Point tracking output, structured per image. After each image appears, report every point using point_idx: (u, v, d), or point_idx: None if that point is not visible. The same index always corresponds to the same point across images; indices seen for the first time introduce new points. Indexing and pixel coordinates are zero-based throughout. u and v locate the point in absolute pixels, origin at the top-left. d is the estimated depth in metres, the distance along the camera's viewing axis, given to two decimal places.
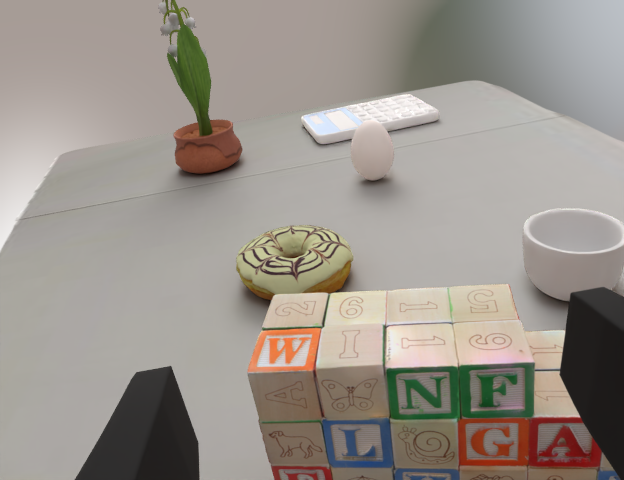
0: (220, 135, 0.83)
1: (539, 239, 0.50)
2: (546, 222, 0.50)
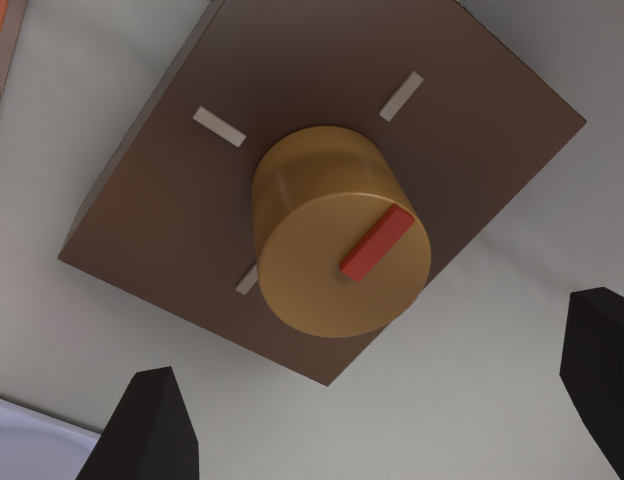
0: None
1: None
2: None
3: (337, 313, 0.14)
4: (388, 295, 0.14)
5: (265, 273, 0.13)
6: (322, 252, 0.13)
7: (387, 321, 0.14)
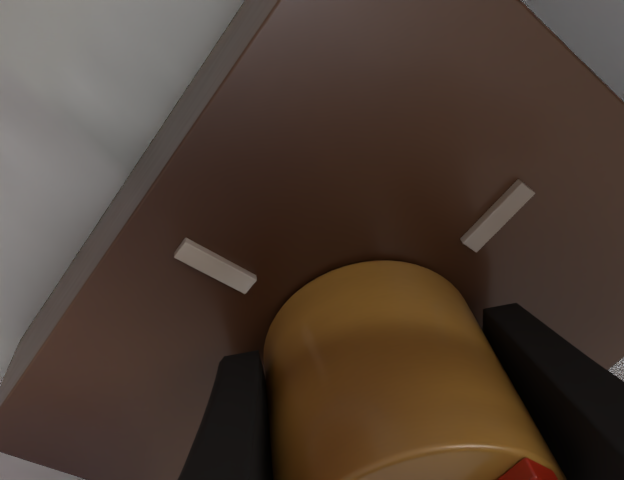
0: None
1: None
2: None
3: None
4: None
5: None
6: None
7: None
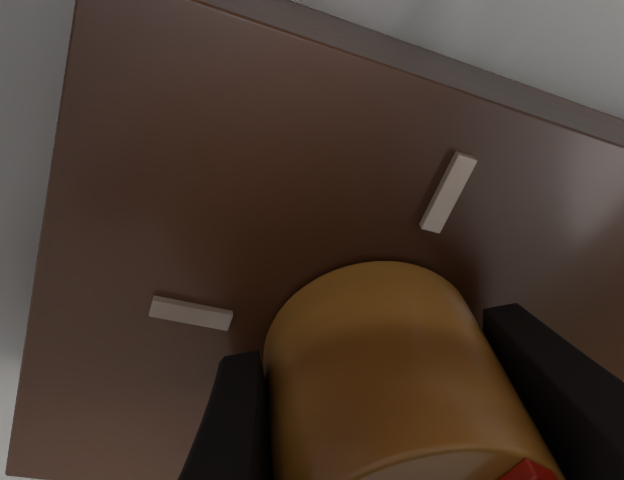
0: None
1: None
2: None
3: None
4: None
5: None
6: None
7: None
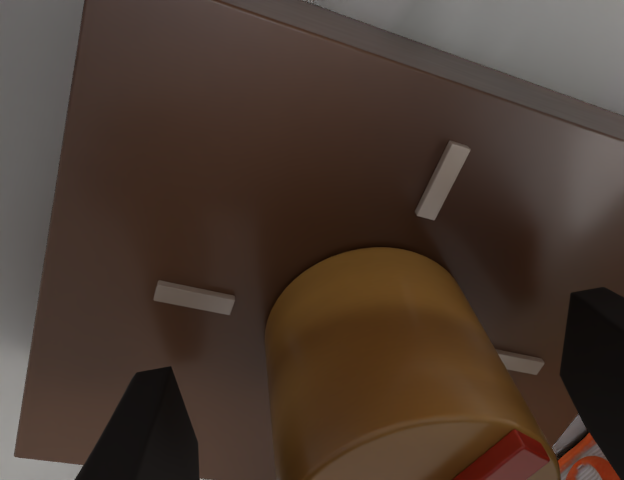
0: None
1: None
2: None
3: None
4: None
5: None
6: None
7: None
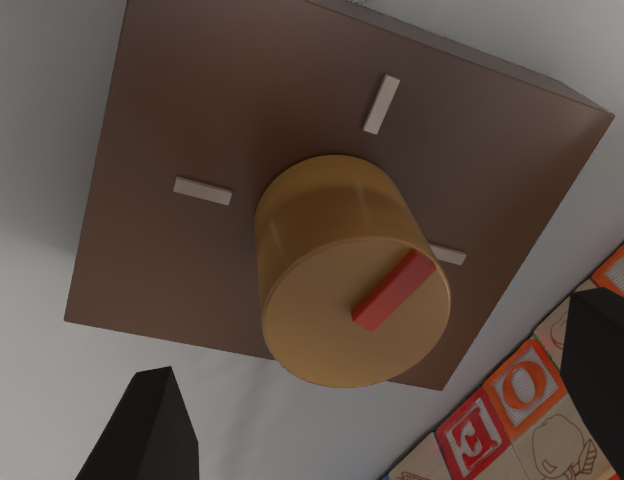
0: None
1: None
2: None
3: (347, 362, 0.13)
4: (403, 344, 0.13)
5: (270, 321, 0.12)
6: (333, 299, 0.12)
7: (401, 371, 0.13)
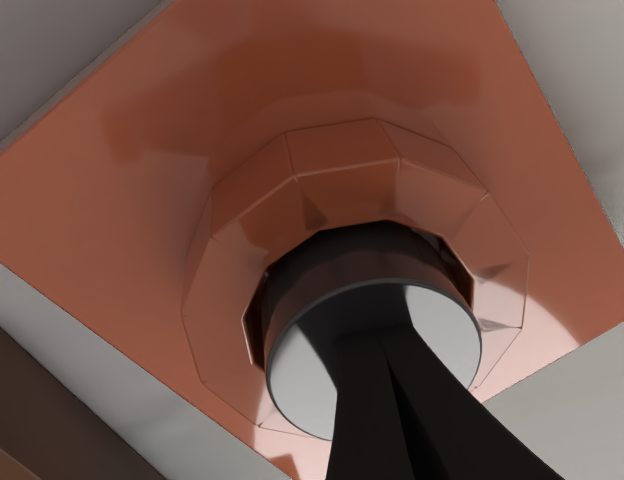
0: None
1: None
2: None
3: None
4: None
5: None
6: None
7: None
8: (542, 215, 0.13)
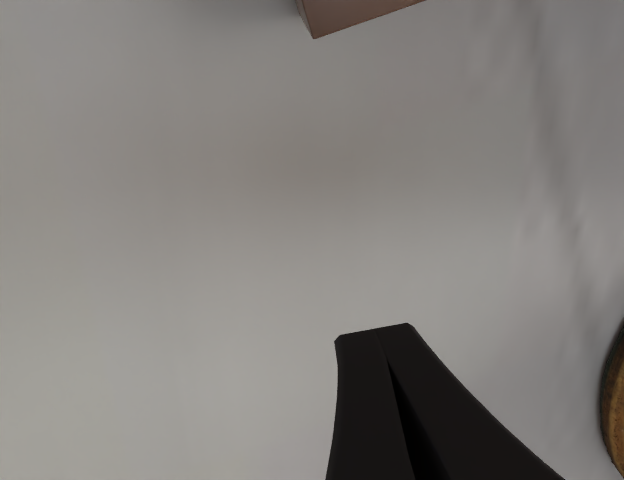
0: None
1: None
2: None
3: None
4: None
5: None
6: None
7: None
8: None
